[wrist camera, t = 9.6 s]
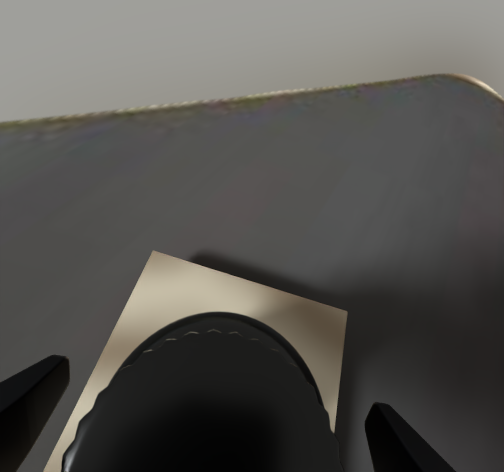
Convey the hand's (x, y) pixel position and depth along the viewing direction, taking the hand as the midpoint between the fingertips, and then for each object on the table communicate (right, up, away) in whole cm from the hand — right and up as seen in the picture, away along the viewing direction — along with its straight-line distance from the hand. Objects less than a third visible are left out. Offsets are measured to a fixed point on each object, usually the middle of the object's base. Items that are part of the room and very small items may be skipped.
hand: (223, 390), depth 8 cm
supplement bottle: (-1, -5, +7) cm, 9 cm away
